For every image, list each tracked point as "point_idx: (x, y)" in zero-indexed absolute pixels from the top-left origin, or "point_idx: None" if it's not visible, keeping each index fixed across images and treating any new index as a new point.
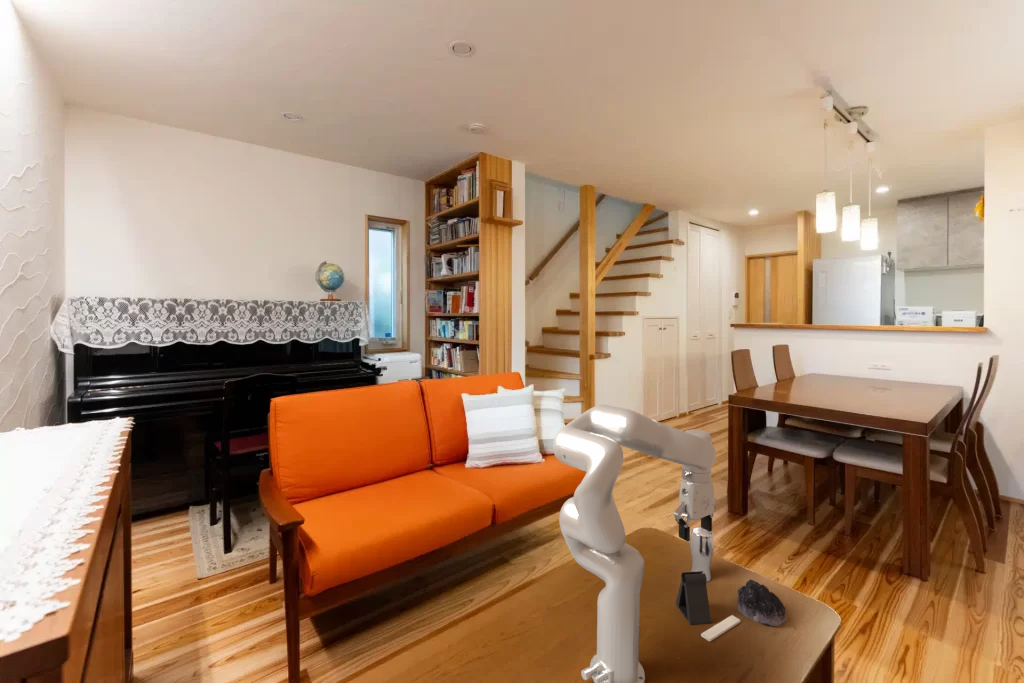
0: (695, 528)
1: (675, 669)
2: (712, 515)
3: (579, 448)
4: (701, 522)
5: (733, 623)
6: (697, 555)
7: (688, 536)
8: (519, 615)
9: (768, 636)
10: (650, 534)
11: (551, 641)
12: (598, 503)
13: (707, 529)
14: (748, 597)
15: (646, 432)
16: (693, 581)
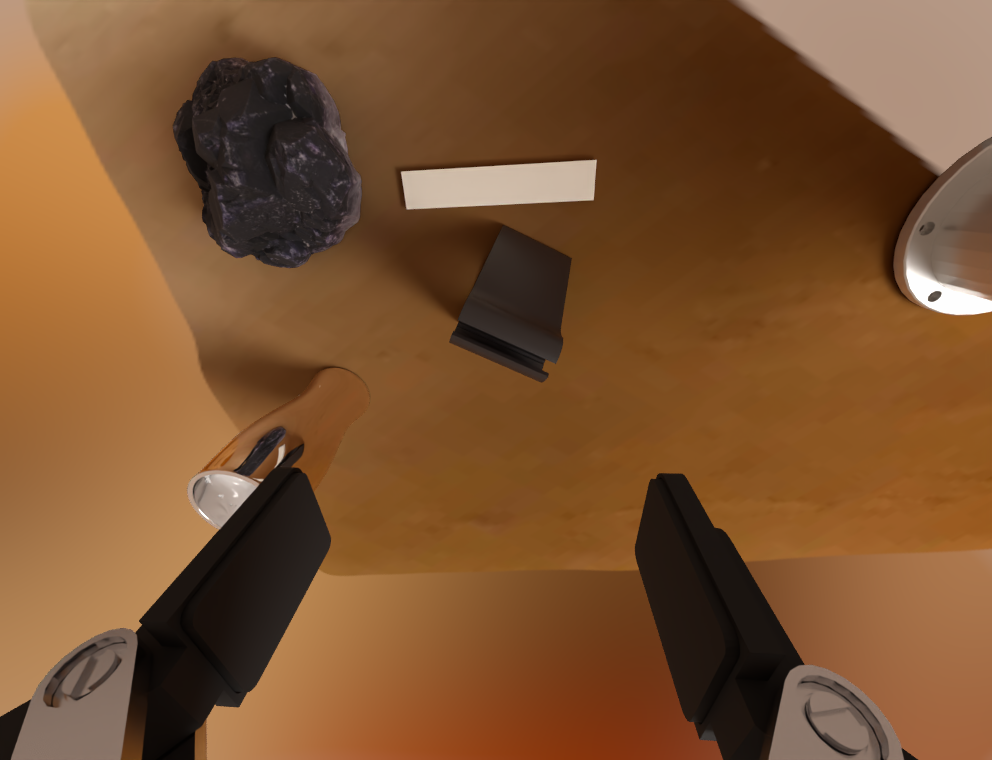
0: None
1: (833, 124)
2: (87, 659)
3: None
4: (302, 589)
5: (440, 173)
6: (329, 437)
7: (708, 518)
8: (913, 519)
9: (370, 48)
10: (335, 560)
11: (966, 420)
12: None
13: (307, 498)
14: (327, 155)
15: None
16: (530, 322)
